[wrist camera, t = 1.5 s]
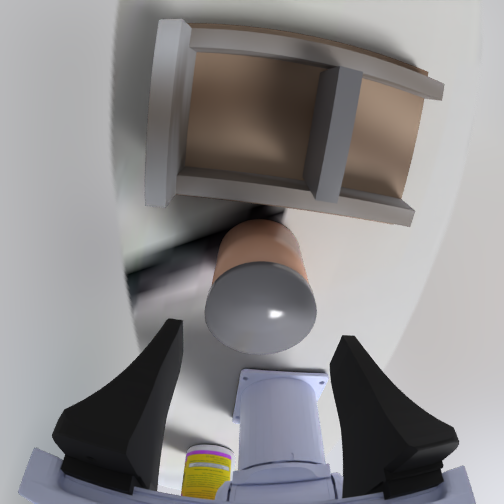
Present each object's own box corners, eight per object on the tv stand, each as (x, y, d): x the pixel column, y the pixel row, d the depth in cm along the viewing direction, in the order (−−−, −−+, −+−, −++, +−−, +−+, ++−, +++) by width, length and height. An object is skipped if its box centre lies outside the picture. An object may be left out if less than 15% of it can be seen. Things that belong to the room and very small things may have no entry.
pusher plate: (319, 179, 17) (337, 203, 13) (302, 176, 17) (315, 200, 13) (338, 76, 14) (363, 71, 10) (320, 72, 14) (339, 65, 10)
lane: (387, 218, 19) (420, 255, 15) (170, 188, 18) (144, 220, 14) (420, 72, 14) (467, 71, 10) (186, 26, 14) (161, 4, 9)
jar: (293, 294, 22) (302, 357, 17) (214, 286, 22) (203, 349, 17) (309, 223, 19) (329, 276, 14) (220, 212, 19) (207, 264, 14)
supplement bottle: (179, 442, 34) (166, 528, 23) (228, 441, 33) (223, 533, 22) (197, 461, 37) (189, 536, 26) (241, 460, 36) (238, 539, 25)
